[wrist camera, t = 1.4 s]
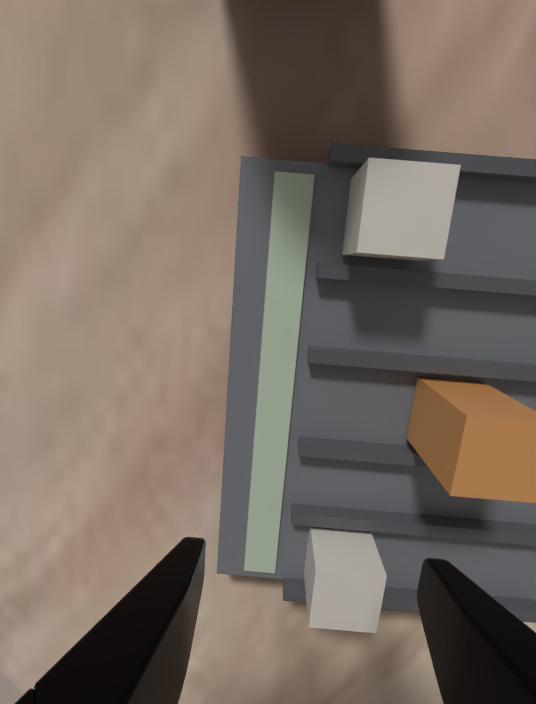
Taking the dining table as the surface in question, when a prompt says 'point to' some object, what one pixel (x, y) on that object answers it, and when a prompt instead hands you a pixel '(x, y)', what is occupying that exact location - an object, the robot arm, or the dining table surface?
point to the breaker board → (373, 373)
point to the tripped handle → (475, 439)
